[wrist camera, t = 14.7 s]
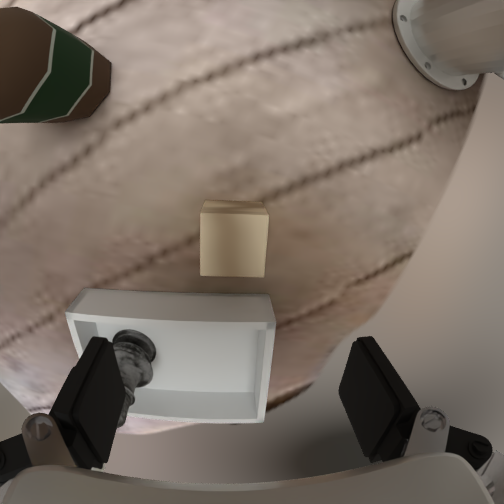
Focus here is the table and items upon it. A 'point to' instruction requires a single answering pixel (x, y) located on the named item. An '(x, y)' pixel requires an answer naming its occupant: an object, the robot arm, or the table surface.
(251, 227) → the beech cube
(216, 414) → the tote
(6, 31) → the beer bottle
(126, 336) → the chess piece
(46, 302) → the table surface
